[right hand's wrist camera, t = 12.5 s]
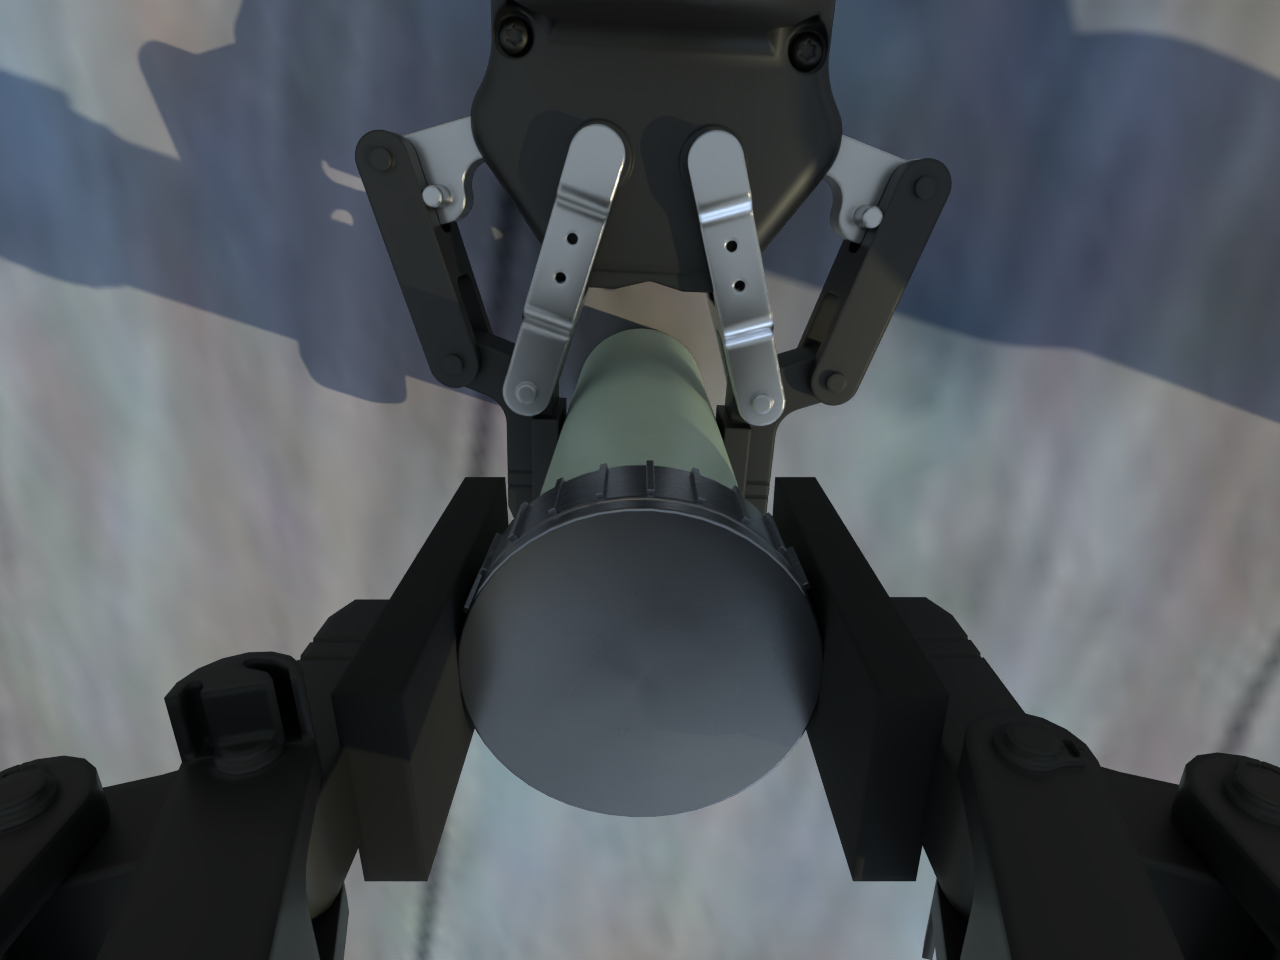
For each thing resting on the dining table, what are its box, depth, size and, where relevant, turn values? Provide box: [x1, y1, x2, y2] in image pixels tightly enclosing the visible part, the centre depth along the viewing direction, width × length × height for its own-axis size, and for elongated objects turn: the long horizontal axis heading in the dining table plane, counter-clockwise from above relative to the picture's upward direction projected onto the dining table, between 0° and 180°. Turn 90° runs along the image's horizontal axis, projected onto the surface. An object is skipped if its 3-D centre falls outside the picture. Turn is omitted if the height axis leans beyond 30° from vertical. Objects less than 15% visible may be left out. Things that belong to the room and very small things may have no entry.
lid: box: [457, 460, 824, 817], centre depth 11 cm, size 5×5×2 cm
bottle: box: [540, 329, 738, 496], centre depth 18 cm, size 4×4×16 cm
